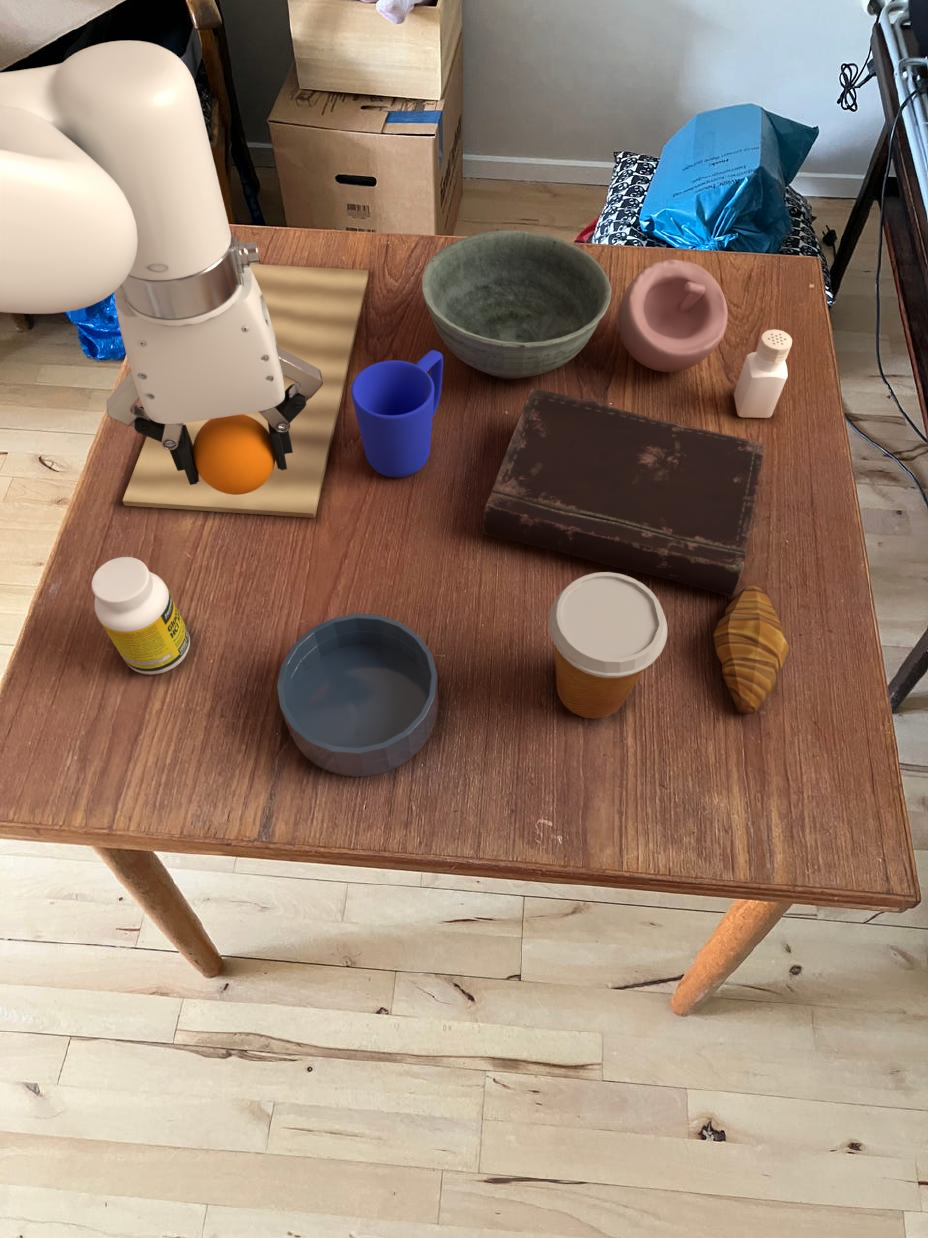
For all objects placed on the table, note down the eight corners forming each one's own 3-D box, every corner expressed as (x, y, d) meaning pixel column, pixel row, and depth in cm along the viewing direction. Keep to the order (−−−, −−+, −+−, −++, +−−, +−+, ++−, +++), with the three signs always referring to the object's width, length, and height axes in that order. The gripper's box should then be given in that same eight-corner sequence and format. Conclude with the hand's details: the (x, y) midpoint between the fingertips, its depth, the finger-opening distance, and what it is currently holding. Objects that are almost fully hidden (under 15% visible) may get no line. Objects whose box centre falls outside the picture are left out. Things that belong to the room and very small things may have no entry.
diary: (729, 604, 85) (743, 574, 81) (481, 542, 89) (482, 509, 85) (754, 467, 94) (768, 433, 90) (530, 416, 98) (533, 381, 94)
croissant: (711, 589, 86) (724, 558, 82) (782, 601, 85) (799, 571, 81) (703, 711, 79) (717, 684, 74) (780, 725, 78) (799, 699, 74)
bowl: (407, 403, 100) (402, 331, 91) (442, 288, 111) (441, 214, 102) (590, 427, 98) (602, 356, 89) (607, 307, 109) (619, 234, 100)
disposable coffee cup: (623, 752, 76) (648, 685, 66) (522, 710, 79) (531, 640, 68) (657, 665, 81) (685, 591, 71) (561, 629, 83) (575, 551, 73)
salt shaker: (766, 395, 101) (793, 326, 93) (772, 420, 98) (799, 352, 90) (731, 394, 101) (754, 325, 93) (736, 419, 98) (760, 351, 90)
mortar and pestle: (641, 405, 100) (660, 321, 90) (593, 339, 106) (606, 254, 96) (732, 378, 102) (760, 293, 92) (681, 315, 108) (702, 230, 98)
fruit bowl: (298, 792, 74) (289, 769, 70) (278, 659, 81) (268, 630, 77) (453, 757, 76) (452, 732, 72) (420, 630, 83) (418, 600, 79)
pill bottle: (198, 664, 81) (164, 596, 72) (130, 686, 80) (87, 619, 70) (184, 611, 84) (150, 540, 75) (119, 632, 83) (76, 561, 74)
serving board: (314, 518, 90) (313, 513, 90) (124, 505, 91) (121, 500, 91) (368, 275, 112) (368, 269, 111) (214, 266, 113) (212, 261, 112)
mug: (470, 429, 97) (471, 357, 89) (407, 498, 92) (402, 429, 83) (410, 400, 100) (405, 328, 91) (345, 466, 94) (333, 395, 86)
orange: (199, 513, 70) (190, 455, 65) (194, 456, 74) (186, 397, 68) (280, 508, 72) (278, 451, 66) (272, 452, 75) (270, 394, 70)
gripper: (306, 218, 59) (337, 415, 74) (40, 252, 57) (127, 448, 72) (321, 287, 55) (350, 481, 70) (35, 326, 53) (129, 517, 68)
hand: (237, 463), depth 71 cm, fingers closed on orange, 6 cm apart
